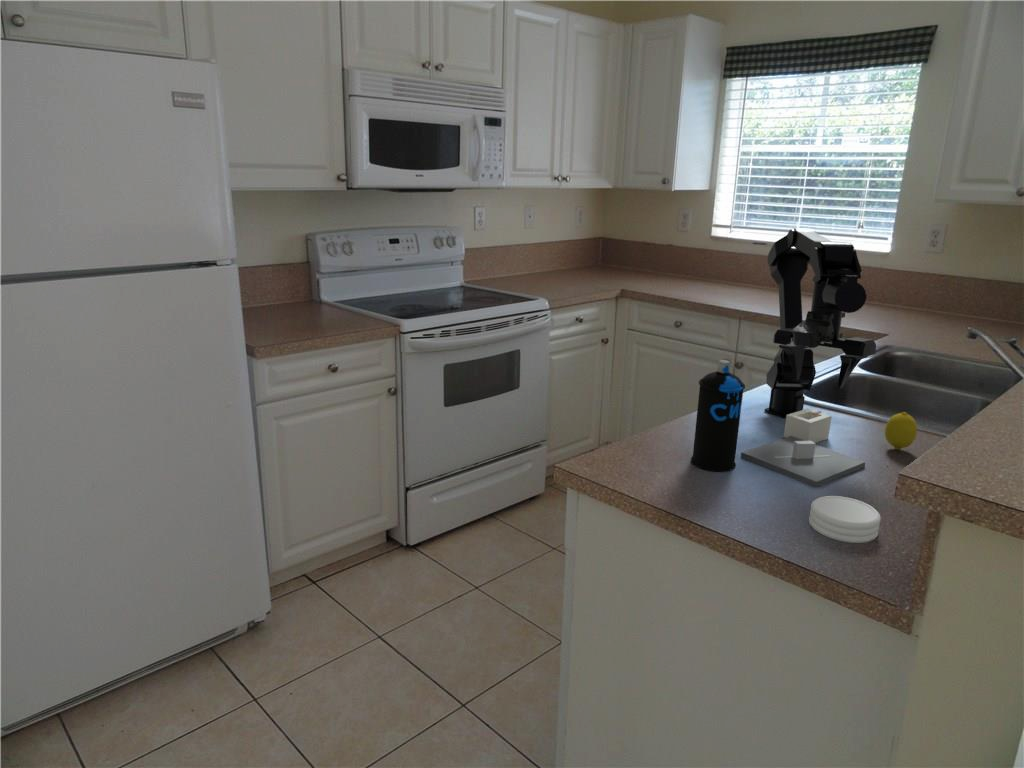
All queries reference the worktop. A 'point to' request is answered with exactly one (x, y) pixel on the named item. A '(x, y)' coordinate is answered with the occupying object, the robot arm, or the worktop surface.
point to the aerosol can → (718, 420)
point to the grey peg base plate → (803, 460)
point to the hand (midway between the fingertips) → (818, 383)
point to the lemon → (901, 430)
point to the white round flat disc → (844, 519)
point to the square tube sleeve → (808, 425)
